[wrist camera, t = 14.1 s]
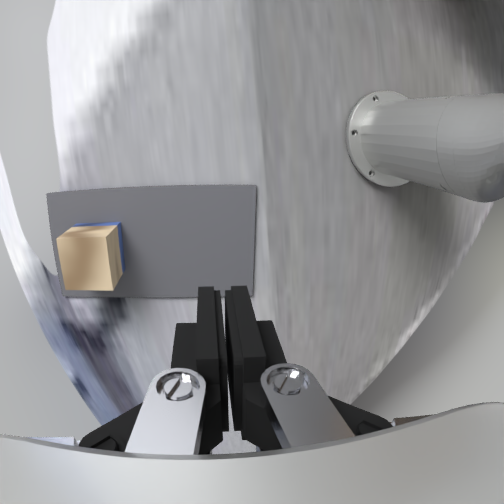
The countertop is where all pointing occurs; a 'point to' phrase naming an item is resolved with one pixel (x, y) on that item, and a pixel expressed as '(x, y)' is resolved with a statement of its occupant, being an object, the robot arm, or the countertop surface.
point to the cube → (92, 256)
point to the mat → (167, 236)
